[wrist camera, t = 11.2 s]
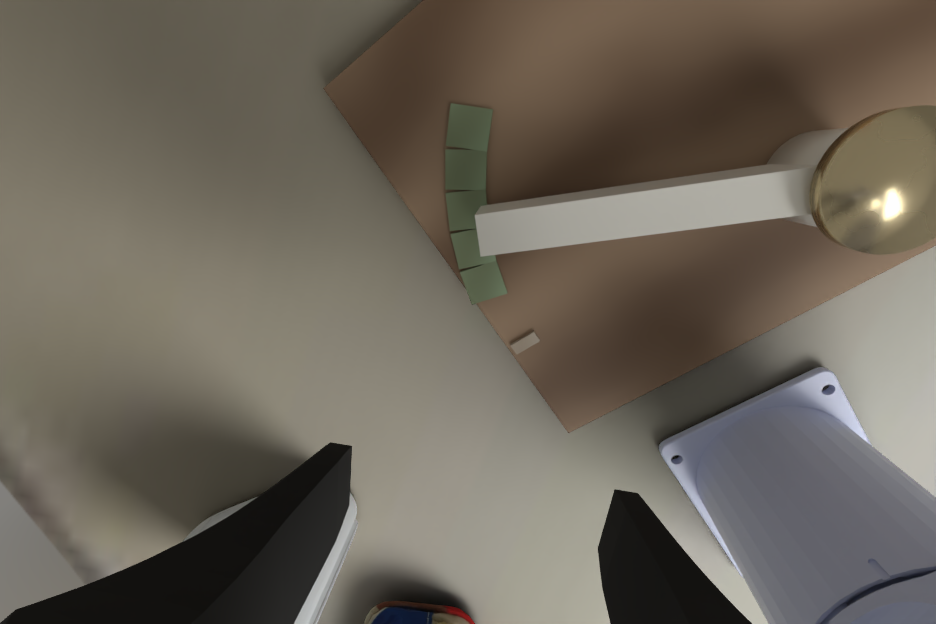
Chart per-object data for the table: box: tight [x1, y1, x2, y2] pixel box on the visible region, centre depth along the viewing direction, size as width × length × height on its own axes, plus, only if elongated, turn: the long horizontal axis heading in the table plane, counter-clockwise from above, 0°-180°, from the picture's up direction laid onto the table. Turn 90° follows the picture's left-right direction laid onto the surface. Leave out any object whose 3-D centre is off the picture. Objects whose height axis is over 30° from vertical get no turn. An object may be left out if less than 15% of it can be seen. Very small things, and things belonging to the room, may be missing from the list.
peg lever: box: [475, 105, 936, 257], centre depth 15 cm, size 14×4×4 cm, turn 99°
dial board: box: [323, 0, 936, 433], centre depth 17 cm, size 18×22×1 cm
